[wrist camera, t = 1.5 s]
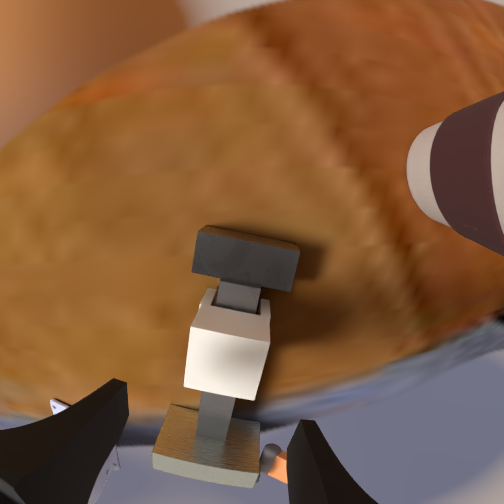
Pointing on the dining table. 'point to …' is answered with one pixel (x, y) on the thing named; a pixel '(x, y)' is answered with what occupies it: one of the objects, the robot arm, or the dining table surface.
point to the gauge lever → (274, 462)
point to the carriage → (227, 349)
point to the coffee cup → (463, 172)
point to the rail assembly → (215, 405)
